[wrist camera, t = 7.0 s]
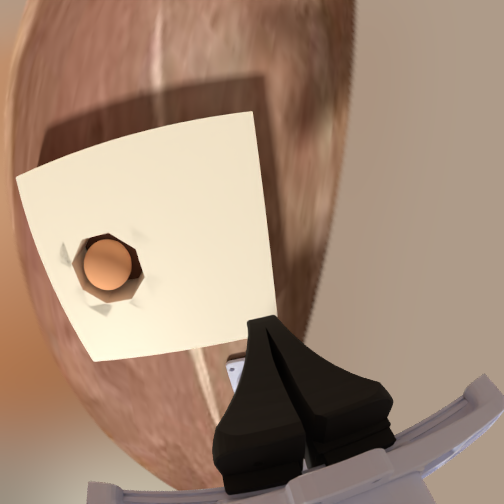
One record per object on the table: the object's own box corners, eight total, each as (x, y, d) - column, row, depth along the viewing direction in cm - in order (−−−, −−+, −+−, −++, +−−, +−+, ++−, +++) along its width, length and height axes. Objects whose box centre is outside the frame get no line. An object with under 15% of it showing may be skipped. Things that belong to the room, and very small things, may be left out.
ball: (85, 271, 19) (127, 279, 21) (78, 294, 16) (127, 303, 18) (91, 228, 18) (136, 237, 20) (83, 244, 15) (136, 255, 17)
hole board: (269, 309, 24) (278, 331, 22) (100, 339, 23) (93, 361, 20) (244, 114, 18) (252, 111, 15) (36, 169, 16) (15, 177, 13)
